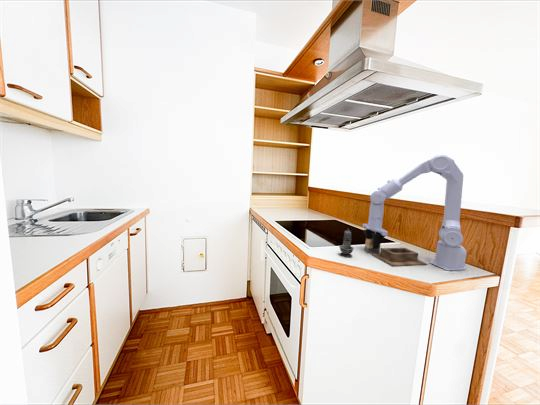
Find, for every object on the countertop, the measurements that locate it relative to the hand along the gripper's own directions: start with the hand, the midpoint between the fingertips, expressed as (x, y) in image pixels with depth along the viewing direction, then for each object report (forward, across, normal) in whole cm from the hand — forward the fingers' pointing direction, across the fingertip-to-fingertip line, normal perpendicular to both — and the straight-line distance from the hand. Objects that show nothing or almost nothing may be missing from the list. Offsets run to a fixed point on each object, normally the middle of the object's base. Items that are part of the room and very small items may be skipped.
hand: (372, 246), depth 102 cm
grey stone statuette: (+3, +3, -15) cm, 16 cm away
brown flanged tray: (+2, +10, +5) cm, 11 cm away
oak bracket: (+2, 0, 0) cm, 2 cm away
